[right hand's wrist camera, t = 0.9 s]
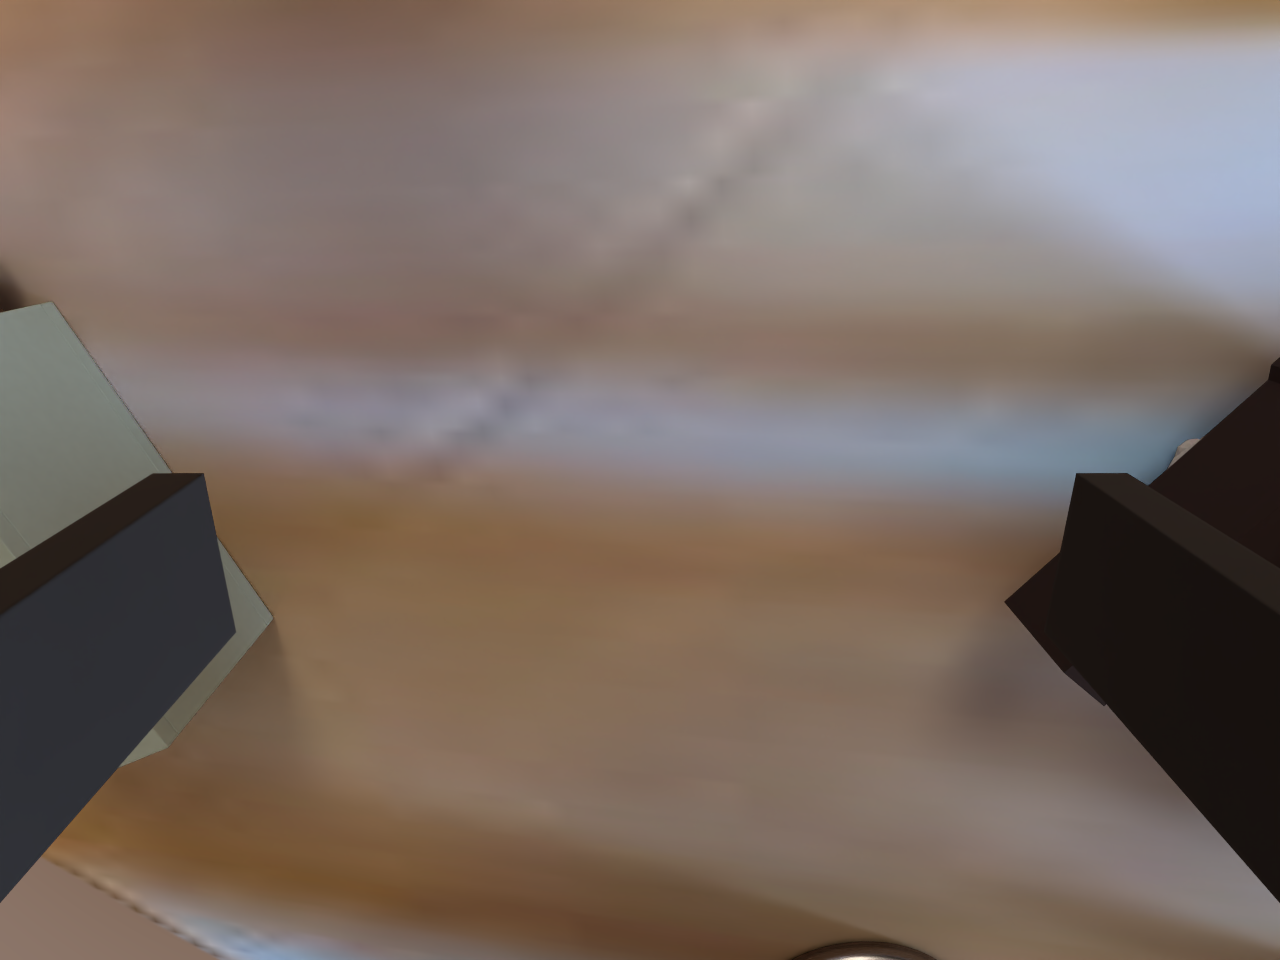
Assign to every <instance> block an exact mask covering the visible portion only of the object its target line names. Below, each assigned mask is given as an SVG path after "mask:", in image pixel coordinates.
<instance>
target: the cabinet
mask: <svg viewBox="0 0 1280 960" xmlns="http://www.w3.org/2000/svg"><path fill="white" fill-rule="evenodd" d="M152 473H172V472H171V471H170V469H169V468H168V466H167V465H166V463H165V462H164V461H163V459H162V458H161V456H160V455H159V453H158V452H157V451H156V449H155V448H154V446H153V445H152V443H151V442H150V441H149V439H148V438H147V436H146V435H145V433H144V432H143V431H142V429H141V428H140V426H139V425H138V423H137V422H136V421H135V419H134V418H133V416H132V415H131V413H130V412H129V411H128V409H127V408H126V406H125V405H124V403H123V402H122V401H121V399H120V398H119V396H118V395H117V393H116V392H115V391H114V389H113V388H112V386H111V385H110V383H109V382H108V381H107V379H106V378H105V376H104V375H103V373H102V372H101V371H100V369H99V368H98V366H97V365H96V363H95V362H94V361H93V359H92V358H91V356H90V355H89V353H88V352H87V351H86V349H85V348H84V346H83V345H82V343H81V342H80V341H79V339H78V338H77V336H76V335H75V333H74V332H73V331H72V329H71V328H70V326H69V325H68V323H67V322H66V321H65V319H64V318H63V316H62V315H61V313H60V312H59V311H58V309H57V308H56V306H55V305H54V303H53V302H46V303H42V304H37V305H32V306H28V307H23V308H19V309H14V310H10V311H5V312H1V313H0V568H2V567H3V566H5V565H6V564H8V563H10V562H11V561H13V560H14V559H16V558H18V557H19V556H21V555H22V554H24V553H26V552H27V551H29V550H30V549H32V548H34V547H35V546H37V545H38V544H40V543H42V542H43V541H45V540H47V539H48V538H50V537H51V536H53V535H55V534H56V533H58V532H59V531H61V530H63V529H64V528H66V527H67V526H69V525H71V524H72V523H74V522H75V521H77V520H79V519H80V518H82V517H83V516H85V515H87V514H88V513H90V512H91V511H93V510H95V509H96V508H98V507H99V506H101V505H103V504H104V503H106V502H107V501H109V500H111V499H112V498H114V497H115V496H117V495H119V494H120V493H122V492H123V491H125V490H127V489H128V488H130V487H131V486H133V485H135V484H136V483H138V482H139V481H141V480H143V479H144V478H146V477H147V476H149V475H151V474H152ZM217 541H218V546H219V551H220V555H221V560H222V565H223V570H224V575H225V580H226V585H227V589H228V594H229V599H230V604H231V609H232V614H233V619H234V623H235V628H236V633H235V634H234V635H233V636H232V638H231V639H230V640H229V641H228V642H227V643H226V645H225V646H224V647H223V648H222V649H221V650H220V651H219V653H218V654H217V655H216V656H215V657H214V658H213V659H212V661H211V662H210V663H209V664H208V665H207V666H206V667H205V669H204V670H203V671H202V672H201V673H200V674H199V675H198V677H197V678H196V679H195V680H194V681H193V682H192V684H191V685H190V686H189V687H188V688H187V689H186V690H185V692H184V693H183V694H182V695H181V696H180V697H179V698H178V700H177V701H176V702H175V703H174V704H173V705H172V706H171V708H170V709H169V710H168V711H167V712H166V713H165V714H164V716H163V717H162V718H161V719H160V720H159V721H158V722H157V724H156V725H155V726H154V727H153V728H152V729H151V731H150V732H149V733H148V734H147V735H146V736H145V737H144V739H143V740H142V741H141V742H140V743H139V744H138V745H137V747H136V748H135V749H134V750H133V751H132V752H131V753H130V755H129V756H128V757H127V758H126V759H125V760H124V761H123V763H122V764H121V765H120V766H119V767H122V766H124V765H127V764H129V763H132V762H134V761H137V760H139V759H142V758H144V757H147V756H149V755H151V754H154V753H156V752H159V751H161V750H164V749H166V748H168V747H169V746H170V745H171V744H172V742H173V741H174V740H175V739H176V737H177V736H178V735H179V734H180V733H181V731H182V730H183V729H184V728H185V726H186V725H187V724H188V723H189V722H190V720H191V719H192V718H193V717H194V715H195V714H196V713H197V712H198V711H199V709H200V708H201V707H202V706H203V704H204V703H205V702H206V701H207V700H208V698H209V697H210V696H211V695H212V693H213V692H214V691H215V690H216V689H217V687H218V686H219V685H220V684H221V682H222V681H223V680H224V679H225V678H226V676H227V675H228V674H229V673H230V671H231V670H232V669H233V668H234V667H235V665H236V664H237V663H238V662H239V660H240V659H241V658H242V657H243V656H244V654H245V653H246V652H247V651H248V649H249V648H250V647H251V646H252V645H253V643H254V642H255V641H256V640H257V638H258V637H259V636H260V635H261V634H262V632H263V631H264V630H265V629H266V627H267V626H268V625H269V623H270V622H271V621H272V620H273V616H272V615H271V613H270V612H269V611H268V609H267V608H266V606H265V605H264V603H263V602H262V601H261V599H260V598H259V596H258V595H257V593H256V592H255V591H254V589H253V588H252V586H251V585H250V583H249V582H248V581H247V579H246V578H245V576H244V575H243V573H242V572H241V571H240V569H239V568H238V566H237V565H236V563H235V562H234V561H233V559H232V558H231V556H230V555H229V553H228V552H227V551H226V549H225V548H224V546H223V545H222V543H221V542H220V541H219V539H218V538H217ZM119 767H118V768H119Z"/></svg>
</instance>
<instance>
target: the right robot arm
mask: <svg viewBox="0 0 1280 960" xmlns="http://www.w3.org/2000/svg"><path fill="white" fill-rule="evenodd" d="M235 633H236V628H235V623H234V619H233V614H232V609H231V604H230V599H229V594H228V589H227V585H226V580H225V575H224V570H223V565H222V560H221V555H220V551H219V546H218V541H217V536H216V531H215V526H214V521H213V517H212V512H211V507H210V502H209V497H208V492H207V487H206V483H205V478H204V473H152V474H151V475H149V476H147V477H146V478H144V479H143V480H141V481H139V482H138V483H136V484H135V485H133V486H131V487H130V488H128V489H127V490H125V491H123V492H122V493H120V494H119V495H117V496H115V497H114V498H112V499H111V500H109V501H107V502H106V503H104V504H103V505H101V506H99V507H98V508H96V509H95V510H93V511H91V512H90V513H88V514H87V515H85V516H83V517H82V518H80V519H79V520H77V521H75V522H74V523H72V524H71V525H69V526H67V527H66V528H64V529H63V530H61V531H59V532H58V533H56V534H55V535H53V536H51V537H50V538H48V539H47V540H45V541H43V542H42V543H40V544H38V545H37V546H35V547H34V548H32V549H30V550H29V551H27V552H26V553H24V554H22V555H21V556H19V557H18V558H16V559H14V560H13V561H11V562H10V563H8V564H6V565H5V566H3V567H2V568H0V902H1V901H2V900H3V899H4V898H5V897H6V896H7V894H8V893H9V892H10V891H11V890H12V889H13V888H14V886H15V885H16V884H17V883H18V882H19V881H20V880H21V878H22V877H23V876H24V875H25V874H26V873H27V872H28V870H29V869H30V868H31V867H32V866H33V865H34V863H35V862H36V861H37V860H38V859H39V858H40V857H41V855H42V854H43V853H44V852H45V851H46V850H47V849H48V847H49V846H50V845H51V844H52V843H53V842H54V841H55V839H56V838H57V837H58V836H59V835H60V834H61V833H62V831H63V830H64V829H65V828H66V827H67V826H68V825H69V823H70V822H71V821H72V820H73V819H74V818H75V817H76V815H77V814H78V813H79V812H80V811H81V810H82V808H83V807H84V806H85V805H86V804H87V803H88V802H89V800H90V799H91V798H92V797H93V796H94V795H95V794H96V792H97V791H98V790H99V789H100V788H101V787H102V786H103V784H104V783H105V782H106V781H107V780H108V779H109V778H110V776H111V775H112V774H113V773H114V772H115V771H116V769H117V768H118V767H119V766H120V765H121V764H122V763H123V761H124V760H125V759H126V758H127V757H128V756H129V755H130V753H131V752H132V751H133V750H134V749H135V748H136V747H137V745H138V744H139V743H140V742H141V741H142V740H143V739H144V737H145V736H146V735H147V734H148V733H149V732H150V731H151V729H152V728H153V727H154V726H155V725H156V724H157V722H158V721H159V720H160V719H161V718H162V717H163V716H164V714H165V713H166V712H167V711H168V710H169V709H170V708H171V706H172V705H173V704H174V703H175V702H176V701H177V700H178V698H179V697H180V696H181V695H182V694H183V693H184V692H185V690H186V689H187V688H188V687H189V686H190V685H191V684H192V682H193V681H194V680H195V679H196V678H197V677H198V675H199V674H200V673H201V672H202V671H203V670H204V669H205V667H206V666H207V665H208V664H209V663H210V662H211V661H212V659H213V658H214V657H215V656H216V655H217V654H218V653H219V651H220V650H221V649H222V648H223V647H224V646H225V645H226V643H227V642H228V641H229V640H230V639H231V638H232V636H233V635H234V634H235ZM1044 633H1045V634H1046V635H1047V636H1048V638H1049V639H1050V640H1051V641H1052V642H1053V643H1054V645H1055V646H1056V647H1057V648H1058V649H1059V650H1060V651H1061V653H1062V654H1063V655H1064V656H1065V657H1066V658H1067V659H1068V661H1069V662H1070V663H1071V664H1072V665H1073V666H1074V667H1075V669H1076V670H1077V671H1078V672H1079V673H1080V674H1081V675H1082V677H1083V678H1084V679H1085V680H1086V681H1087V682H1088V684H1089V685H1090V686H1091V687H1092V688H1093V689H1094V690H1095V692H1096V693H1097V694H1098V695H1099V696H1100V697H1101V698H1102V700H1103V701H1104V702H1105V703H1106V704H1107V705H1108V706H1109V708H1110V709H1111V710H1112V711H1113V712H1114V713H1115V714H1116V716H1117V717H1118V718H1119V719H1120V720H1121V721H1122V722H1123V724H1124V725H1125V726H1126V727H1127V728H1128V729H1129V731H1130V732H1131V733H1132V734H1133V735H1134V736H1135V737H1136V739H1137V740H1138V741H1139V742H1140V743H1141V744H1142V745H1143V747H1144V748H1145V749H1146V750H1147V751H1148V752H1149V753H1150V755H1151V756H1152V757H1153V758H1154V759H1155V760H1156V761H1157V763H1158V764H1159V765H1160V766H1161V767H1162V768H1163V769H1164V771H1165V772H1166V773H1167V774H1168V775H1169V776H1170V778H1171V779H1172V780H1173V781H1174V782H1175V783H1176V784H1177V786H1178V787H1179V788H1180V789H1181V790H1182V791H1183V792H1184V794H1185V795H1186V796H1187V797H1188V798H1189V799H1190V800H1191V802H1192V803H1193V804H1194V805H1195V806H1196V807H1197V808H1198V810H1199V811H1200V812H1201V813H1202V814H1203V815H1204V817H1205V818H1206V819H1207V820H1208V821H1209V822H1210V823H1211V825H1212V826H1213V827H1214V828H1215V829H1216V830H1217V831H1218V833H1219V834H1220V835H1221V836H1222V837H1223V838H1224V839H1225V841H1226V842H1227V843H1228V844H1229V845H1230V846H1231V847H1232V849H1233V850H1234V851H1235V852H1236V853H1237V854H1238V855H1239V857H1240V858H1241V859H1242V860H1243V861H1244V862H1245V864H1246V865H1247V866H1248V867H1249V868H1250V869H1251V870H1252V872H1253V873H1254V874H1255V875H1256V876H1257V877H1258V878H1259V880H1260V881H1261V882H1262V883H1263V884H1264V885H1265V886H1266V888H1267V889H1268V890H1269V891H1270V892H1271V893H1272V894H1273V896H1274V897H1275V898H1276V899H1277V900H1278V901H1279V902H1280V568H1278V567H1277V566H1275V565H1274V564H1272V563H1270V562H1269V561H1267V560H1266V559H1264V558H1262V557H1261V556H1259V555H1258V554H1256V553H1254V552H1253V551H1251V550H1250V549H1248V548H1246V547H1245V546H1243V545H1242V544H1240V543H1238V542H1237V541H1235V540H1233V539H1232V538H1230V537H1229V536H1227V535H1225V534H1224V533H1222V532H1221V531H1219V530H1217V529H1216V528H1214V527H1213V526H1211V525H1209V524H1208V523H1206V522H1205V521H1203V520H1201V519H1200V518H1198V517H1197V516H1195V515H1193V514H1192V513H1190V512H1189V511H1187V510H1185V509H1184V508H1182V507H1181V506H1179V505H1177V504H1176V503H1174V502H1173V501H1171V500H1169V499H1168V498H1166V497H1165V496H1163V495H1161V494H1160V493H1158V492H1157V491H1155V490H1153V489H1152V488H1150V487H1149V486H1147V485H1145V484H1144V483H1142V482H1141V481H1139V480H1137V479H1136V478H1134V477H1132V476H1131V475H1129V474H1128V473H1076V478H1075V483H1074V487H1073V492H1072V497H1071V502H1070V507H1069V512H1068V517H1067V521H1066V526H1065V531H1064V536H1063V541H1062V546H1061V551H1060V555H1059V560H1058V565H1057V570H1056V575H1055V580H1054V585H1053V589H1052V594H1051V599H1050V604H1049V609H1048V614H1047V619H1046V623H1045V628H1044ZM792 960H936V959H935V958H933V957H931V956H929V955H927V954H925V953H922V952H920V951H918V950H915V949H912V948H909V947H905V946H901V945H896V944H890V943H882V942H850V943H843V944H836V945H831V946H827V947H823V948H820V949H816V950H813V951H810V952H808V953H805V954H803V955H800V956H798V957H796V958H794V959H792Z"/></svg>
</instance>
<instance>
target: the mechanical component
mask: <svg viewBox="0 0 1280 960" xmlns="http://www.w3.org/2000/svg"><path fill="white" fill-rule="evenodd" d="M1149 487H1150V488H1152V489H1153V490H1155V491H1157V492H1158V493H1160V494H1161V495H1163V496H1165V497H1166V498H1168V499H1169V500H1171V501H1173V502H1174V503H1176V504H1177V505H1179V506H1181V507H1182V508H1184V509H1185V510H1187V511H1189V512H1190V513H1192V514H1193V515H1195V516H1197V517H1198V518H1200V519H1201V520H1203V521H1205V522H1206V523H1208V524H1209V525H1211V526H1213V527H1214V528H1216V529H1217V530H1219V531H1221V532H1222V533H1224V534H1225V535H1227V536H1229V537H1230V538H1232V539H1233V540H1235V541H1237V542H1238V543H1240V544H1242V545H1243V546H1245V547H1246V548H1248V549H1250V550H1251V551H1253V552H1254V553H1256V554H1258V555H1259V556H1261V557H1262V558H1264V559H1266V560H1267V561H1269V562H1270V563H1272V564H1274V565H1275V566H1277V567H1278V568H1280V358H1279V359H1277V360H1276V361H1275V362H1274V363H1273V364H1272V365H1271V369H1270V374H1269V379H1268V381H1267V382H1265V383H1264V384H1263V385H1262V386H1261V387H1260V388H1259V389H1257V390H1256V391H1255V392H1254V393H1253V394H1252V395H1251V396H1250V397H1248V398H1247V399H1246V400H1245V401H1244V402H1243V403H1242V404H1240V405H1239V406H1238V407H1237V408H1236V409H1235V410H1234V411H1233V412H1231V413H1230V414H1229V415H1228V416H1227V417H1226V418H1225V419H1223V420H1222V421H1221V422H1220V423H1219V424H1218V425H1217V426H1216V427H1214V428H1213V429H1212V430H1211V431H1210V432H1209V433H1208V434H1206V435H1205V436H1204V437H1202V438H1201V439H1190V440H1187V441H1185V442H1184V443H1183V444H1181V445H1180V446H1178V448H1177V451H1176V454H1175V457H1174V458H1173V460H1172V462H1171V463H1170V465H1169V467H1168V468H1167V470H1166V471H1165V472H1163V473H1162V474H1161V475H1160V476H1159V477H1158V478H1157V479H1156V480H1154V481H1153V482H1152V483H1151V484H1150V485H1149ZM1059 555H1060V553H1059V554H1058V555H1057V556H1055V557H1054V558H1053V559H1052V560H1051V561H1050V562H1049V563H1048V564H1046V565H1045V566H1044V567H1043V568H1042V569H1041V570H1040V571H1038V572H1037V573H1036V574H1035V575H1034V576H1033V577H1032V578H1031V579H1029V580H1028V581H1027V582H1026V583H1025V584H1024V585H1023V586H1022V587H1020V588H1019V589H1018V590H1017V591H1016V592H1015V593H1014V594H1013V595H1011V596H1010V597H1009V598H1008V599H1007V600H1006V601H1005V603H1006V605H1007V606H1008V607H1009V608H1010V609H1011V610H1012V612H1013V613H1014V614H1015V615H1016V616H1017V618H1018V619H1019V620H1020V621H1021V622H1022V624H1023V625H1024V626H1025V627H1026V628H1027V629H1028V631H1029V632H1030V633H1031V634H1032V635H1033V637H1034V638H1035V639H1036V640H1037V641H1038V643H1039V644H1040V645H1041V646H1042V647H1043V648H1044V650H1045V651H1046V652H1047V653H1048V654H1049V656H1050V657H1051V658H1052V659H1053V660H1054V662H1055V663H1056V664H1057V665H1058V666H1059V667H1060V669H1061V670H1062V671H1063V672H1064V673H1065V674H1066V675H1067V676H1068V677H1070V678H1071V679H1072V680H1073V681H1074V682H1076V683H1077V684H1078V685H1079V686H1080V687H1082V688H1083V689H1084V690H1085V691H1086V692H1088V693H1089V694H1090V695H1091V696H1092V697H1094V698H1095V699H1096V700H1097V701H1098V702H1100V703H1101V704H1102V705H1103V706H1105V705H1106V703H1105V702H1104V701H1103V700H1102V698H1101V697H1100V696H1099V695H1098V694H1097V693H1096V692H1095V690H1094V689H1093V688H1092V687H1091V686H1090V685H1089V684H1088V682H1087V681H1086V680H1085V679H1084V678H1083V677H1082V675H1081V674H1080V673H1079V672H1078V671H1077V670H1076V669H1075V667H1074V666H1073V665H1072V664H1071V663H1070V662H1069V661H1068V659H1067V658H1066V657H1065V656H1064V655H1063V654H1062V653H1061V651H1060V650H1059V649H1058V648H1057V647H1056V646H1055V645H1054V643H1053V642H1052V641H1051V640H1050V639H1049V638H1048V636H1047V635H1046V634H1045V633H1044V628H1045V623H1046V619H1047V614H1048V609H1049V604H1050V599H1051V594H1052V589H1053V585H1054V580H1055V575H1056V570H1057V565H1058V560H1059Z"/></svg>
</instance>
